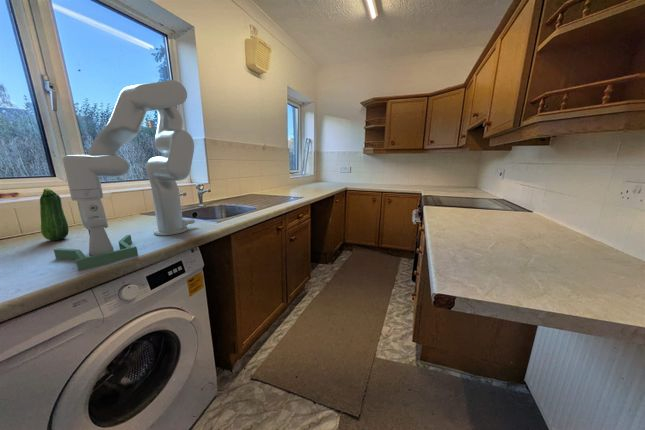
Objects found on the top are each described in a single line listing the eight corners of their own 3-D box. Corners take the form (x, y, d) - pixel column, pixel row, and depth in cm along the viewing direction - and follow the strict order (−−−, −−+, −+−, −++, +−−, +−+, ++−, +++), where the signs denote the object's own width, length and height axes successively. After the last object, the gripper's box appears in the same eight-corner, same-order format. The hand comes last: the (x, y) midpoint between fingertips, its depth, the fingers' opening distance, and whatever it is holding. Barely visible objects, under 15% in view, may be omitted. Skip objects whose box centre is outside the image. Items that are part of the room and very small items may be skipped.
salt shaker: (99, 263, 74) (90, 221, 71) (85, 261, 76) (76, 220, 73) (119, 256, 80) (112, 217, 77) (106, 254, 81) (98, 216, 78)
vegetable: (56, 237, 99) (44, 187, 94) (76, 236, 99) (64, 187, 95) (38, 243, 91) (23, 189, 87) (59, 242, 92) (46, 189, 88)
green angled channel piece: (131, 241, 93) (130, 234, 93) (148, 253, 82) (147, 244, 82) (55, 258, 78) (53, 249, 77) (64, 274, 67) (61, 264, 67)
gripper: (108, 195, 78) (119, 249, 82) (96, 191, 87) (107, 240, 91) (75, 198, 72) (89, 256, 76) (66, 193, 81) (79, 246, 85)
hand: (98, 248), depth 83 cm, fingers closed
